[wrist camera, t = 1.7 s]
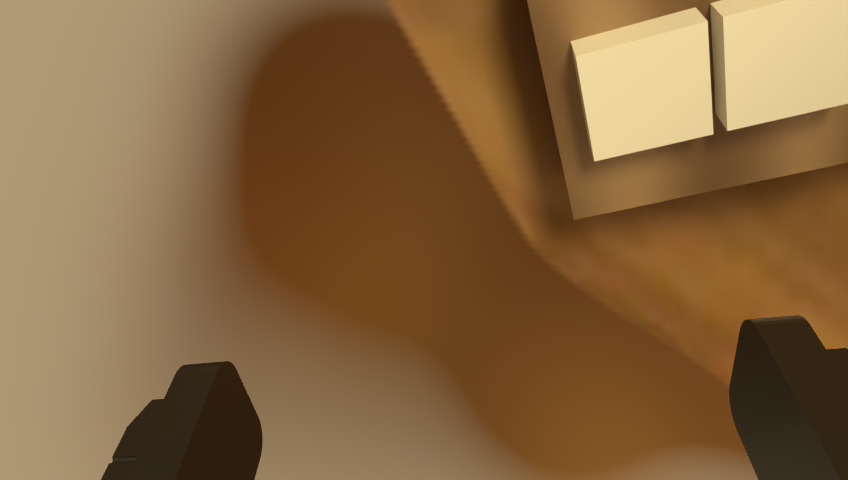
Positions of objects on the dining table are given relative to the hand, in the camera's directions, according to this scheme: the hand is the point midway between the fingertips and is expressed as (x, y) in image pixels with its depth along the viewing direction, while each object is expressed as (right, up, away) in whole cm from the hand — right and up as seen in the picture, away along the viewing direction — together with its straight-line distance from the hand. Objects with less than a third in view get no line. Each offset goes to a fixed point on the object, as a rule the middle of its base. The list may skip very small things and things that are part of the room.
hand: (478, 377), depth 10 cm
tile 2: (+12, +9, +13) cm, 21 cm away
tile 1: (+7, +8, +15) cm, 18 cm away
